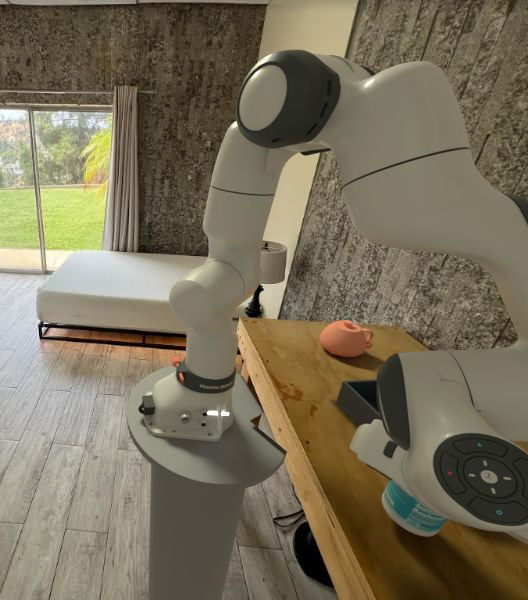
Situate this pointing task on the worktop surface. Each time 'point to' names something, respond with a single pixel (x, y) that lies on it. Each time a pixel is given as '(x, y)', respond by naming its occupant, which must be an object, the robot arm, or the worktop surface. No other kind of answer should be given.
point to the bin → (359, 401)
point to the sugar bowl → (345, 339)
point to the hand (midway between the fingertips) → (427, 480)
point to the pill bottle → (410, 512)
